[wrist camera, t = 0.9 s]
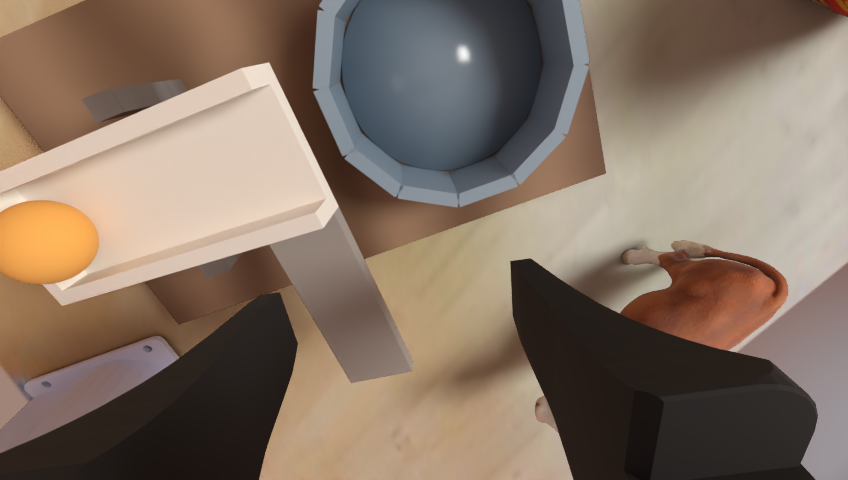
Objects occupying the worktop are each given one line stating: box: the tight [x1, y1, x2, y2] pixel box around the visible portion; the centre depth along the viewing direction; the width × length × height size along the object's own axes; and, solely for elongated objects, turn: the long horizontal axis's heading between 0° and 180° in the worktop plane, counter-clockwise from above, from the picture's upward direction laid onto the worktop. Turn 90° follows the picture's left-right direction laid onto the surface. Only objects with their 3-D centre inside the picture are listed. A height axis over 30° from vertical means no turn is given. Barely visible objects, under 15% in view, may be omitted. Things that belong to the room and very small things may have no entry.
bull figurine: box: [535, 240, 788, 433], centre depth 22 cm, size 4×14×8 cm, turn 132°
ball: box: [0, 200, 99, 284], centre depth 14 cm, size 3×3×3 cm
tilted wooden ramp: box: [0, 63, 414, 383], centre depth 17 cm, size 12×13×3 cm
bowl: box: [313, 0, 590, 207], centre depth 17 cm, size 10×10×4 cm
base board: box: [0, 0, 606, 324], centre depth 17 cm, size 25×15×6 cm, turn 110°
